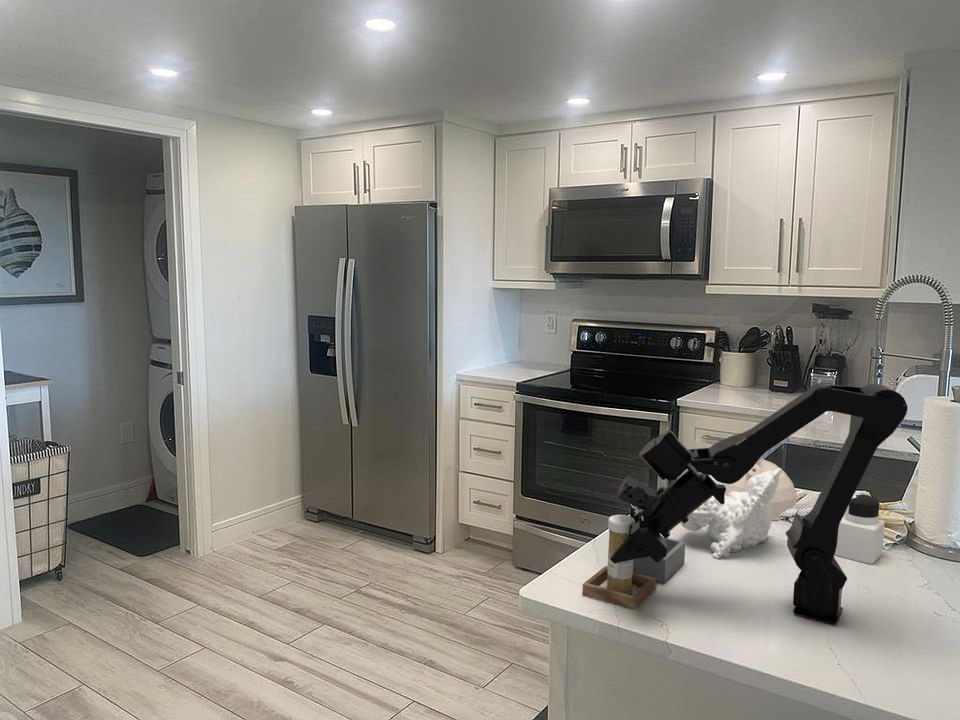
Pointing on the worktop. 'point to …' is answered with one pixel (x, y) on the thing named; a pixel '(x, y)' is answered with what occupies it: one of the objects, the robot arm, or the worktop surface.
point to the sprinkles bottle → (618, 534)
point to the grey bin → (662, 562)
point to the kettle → (783, 494)
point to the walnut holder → (619, 598)
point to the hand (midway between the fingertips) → (612, 555)
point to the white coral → (738, 515)
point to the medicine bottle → (861, 530)
